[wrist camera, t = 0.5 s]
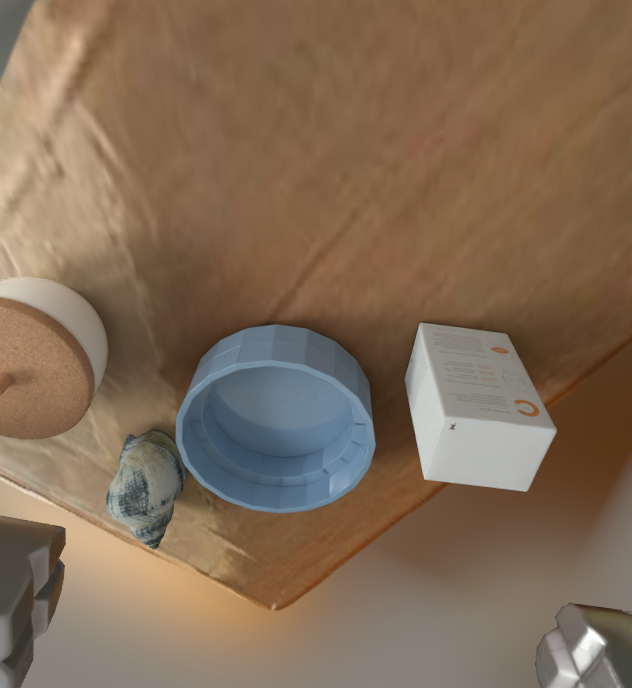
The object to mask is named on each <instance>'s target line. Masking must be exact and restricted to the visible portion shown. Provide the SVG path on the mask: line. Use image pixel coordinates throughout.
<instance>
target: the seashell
mask: <svg viewBox="0 0 632 688" xmlns="http://www.w3.org/2000/svg"><path fill="white" fill-rule="evenodd" d="M120 463H121V467H120V469H119V470H118V472H117V474H116V476H115V478H114V480H113V481H112V483H111V485H110V487H109V490H108V493H107V498H106V500H107V510H108V512H109V514H110V515H111V516H112V517H113V518H114V519H115V520H116V521H118V522H120V523H122V524H124V525H126V526H128V527H130V531H131V533H132V534H133V535H134V536H135V537H136V538H138V539H140V540H142V541H143V543H144V544H145V545H149V547H150V548H152V549H153V550H154V549H157V548H158V546H159V543H160V542H161V539H162V538H163V536H164V534H165V531H166V527H167V525H168V523H169V521H170V520H171V518H172V515H173V510H174V501H175V500H176V498H177V496H178V495H179V494H180V493H181V492H182V490H183V482H184V481H185V479H186V477H187V474H188V469H187V467H186V466H185V465H184V463H183V460H182V457H181V455H180V452H179V450H178V447H177V444H176V442H175V441H173V440H172V439H171V438H169V437H168V436H167V435H166V434H165V433H163V432H160V431H149V432H146V433H143V434H141V435H140V436H138V437H135V436H134V435H131V434H129V435H128V436H127V439H126V441H125V443H124V446H123V449H122V452H121V455H120Z"/></svg>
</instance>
